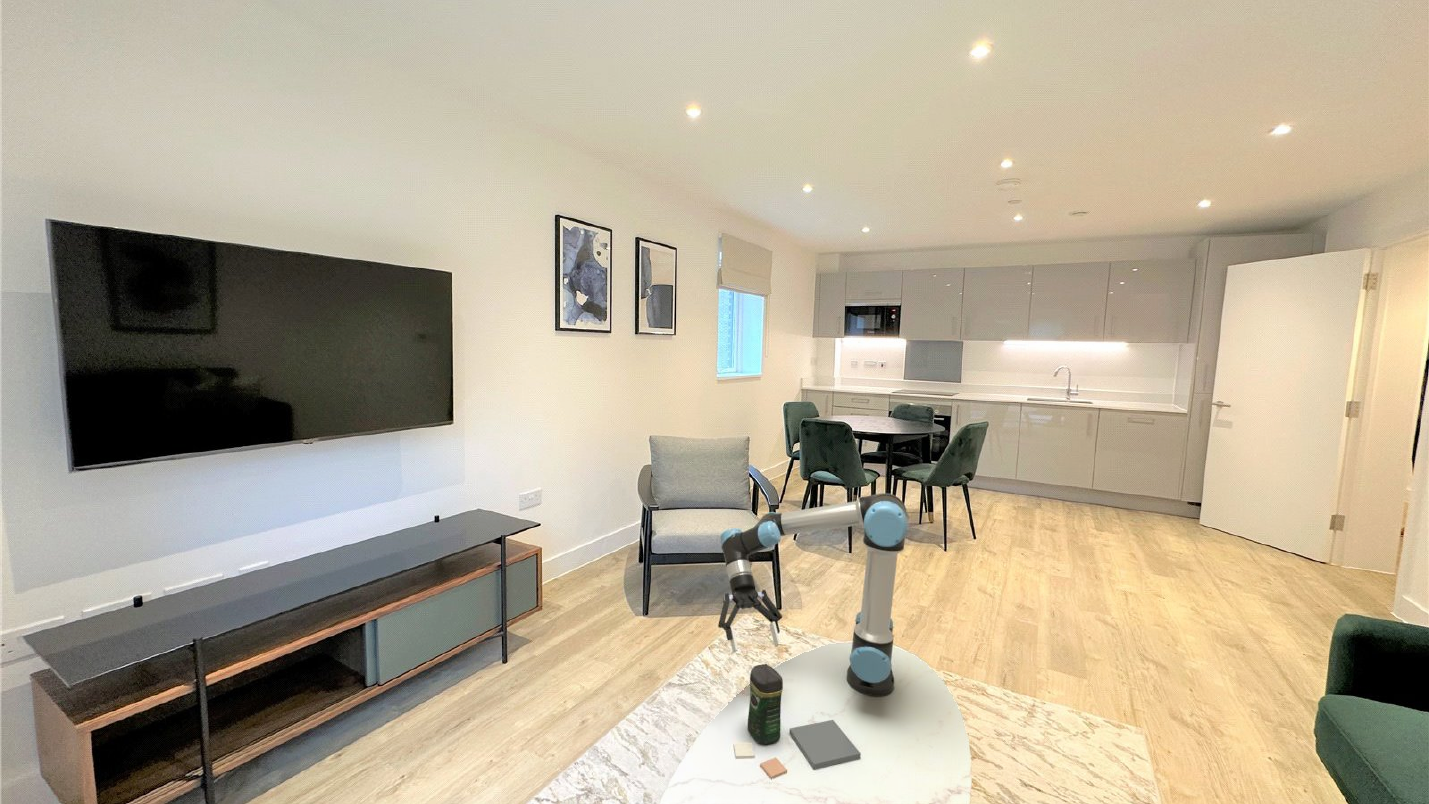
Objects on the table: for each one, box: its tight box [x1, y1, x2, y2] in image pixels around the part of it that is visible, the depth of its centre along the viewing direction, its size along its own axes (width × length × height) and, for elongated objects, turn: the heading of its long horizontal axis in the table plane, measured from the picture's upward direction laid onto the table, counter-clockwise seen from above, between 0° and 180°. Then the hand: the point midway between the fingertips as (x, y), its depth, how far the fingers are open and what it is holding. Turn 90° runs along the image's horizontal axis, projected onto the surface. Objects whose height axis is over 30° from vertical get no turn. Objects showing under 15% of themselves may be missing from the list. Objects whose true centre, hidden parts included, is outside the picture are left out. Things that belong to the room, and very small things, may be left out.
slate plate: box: [788, 719, 862, 770], centre depth 151 cm, size 14×14×2 cm
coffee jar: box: [747, 663, 784, 745], centre depth 155 cm, size 10×8×19 cm
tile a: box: [759, 757, 788, 780], centre depth 142 cm, size 5×5×1 cm
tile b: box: [733, 742, 756, 760], centre depth 148 cm, size 5×5×1 cm
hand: (757, 648), depth 162 cm, fingers open, 13 cm apart
